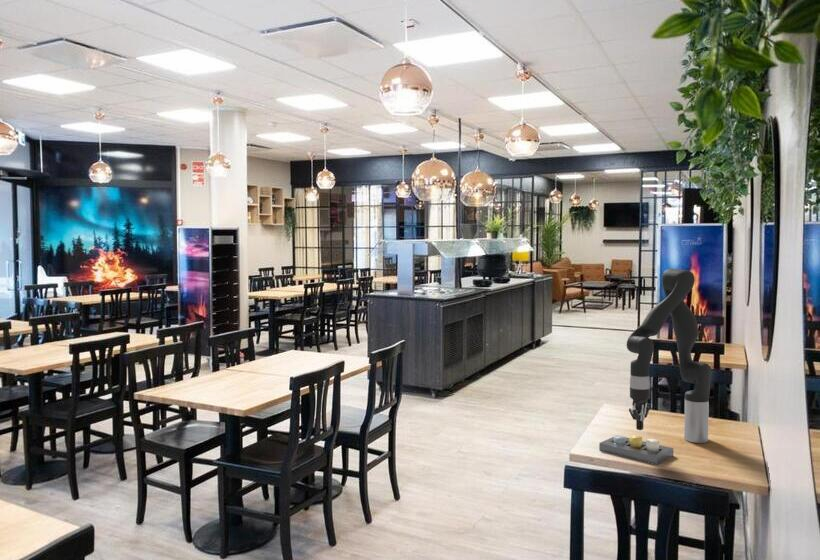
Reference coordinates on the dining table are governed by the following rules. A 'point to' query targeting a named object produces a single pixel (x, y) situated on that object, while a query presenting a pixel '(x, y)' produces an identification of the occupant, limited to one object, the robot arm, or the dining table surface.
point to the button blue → (619, 440)
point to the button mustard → (636, 441)
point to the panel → (636, 451)
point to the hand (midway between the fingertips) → (639, 429)
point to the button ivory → (652, 445)
